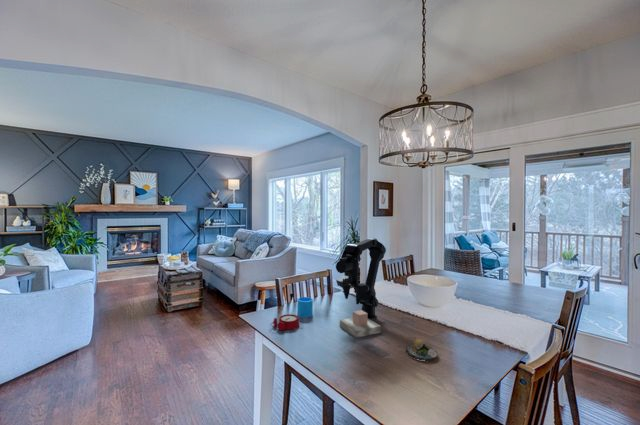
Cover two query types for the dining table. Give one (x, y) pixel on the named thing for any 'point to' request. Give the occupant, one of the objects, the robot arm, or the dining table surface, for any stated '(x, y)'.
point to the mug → (305, 307)
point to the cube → (360, 317)
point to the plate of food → (421, 351)
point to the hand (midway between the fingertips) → (351, 301)
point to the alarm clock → (287, 322)
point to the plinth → (360, 327)
